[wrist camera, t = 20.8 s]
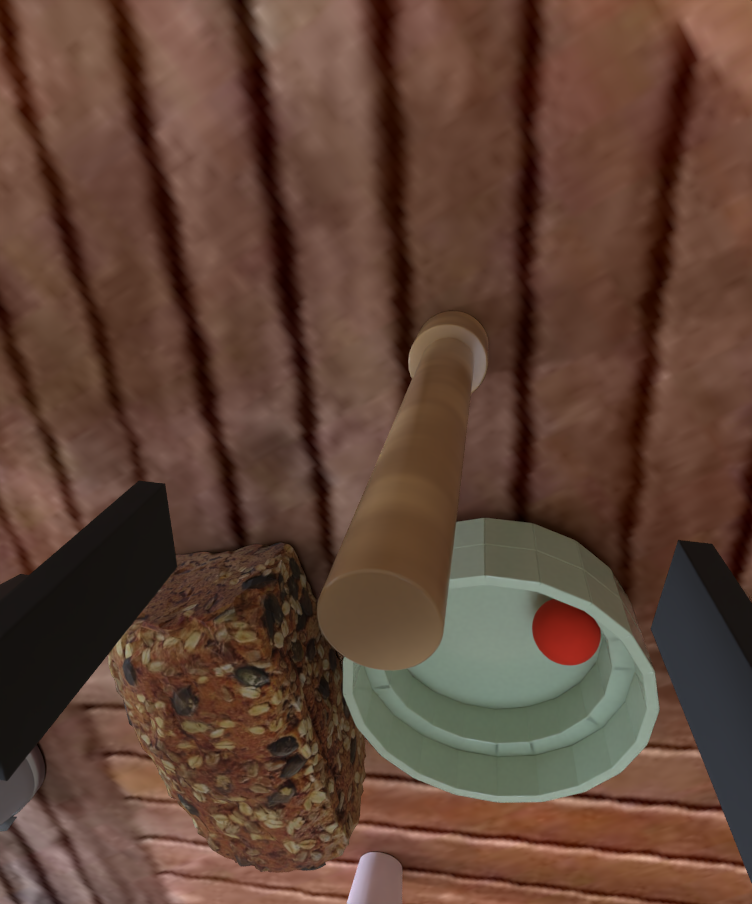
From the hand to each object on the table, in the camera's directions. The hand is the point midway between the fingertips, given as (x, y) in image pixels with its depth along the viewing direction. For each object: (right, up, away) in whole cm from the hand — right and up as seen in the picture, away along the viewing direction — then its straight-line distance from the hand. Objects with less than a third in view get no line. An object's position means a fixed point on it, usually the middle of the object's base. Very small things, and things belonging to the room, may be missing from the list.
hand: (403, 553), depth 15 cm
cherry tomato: (+10, -7, +16) cm, 20 cm away
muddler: (+3, +8, +13) cm, 16 cm away
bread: (-8, -11, +25) cm, 28 cm away
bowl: (+6, -8, +20) cm, 23 cm away
